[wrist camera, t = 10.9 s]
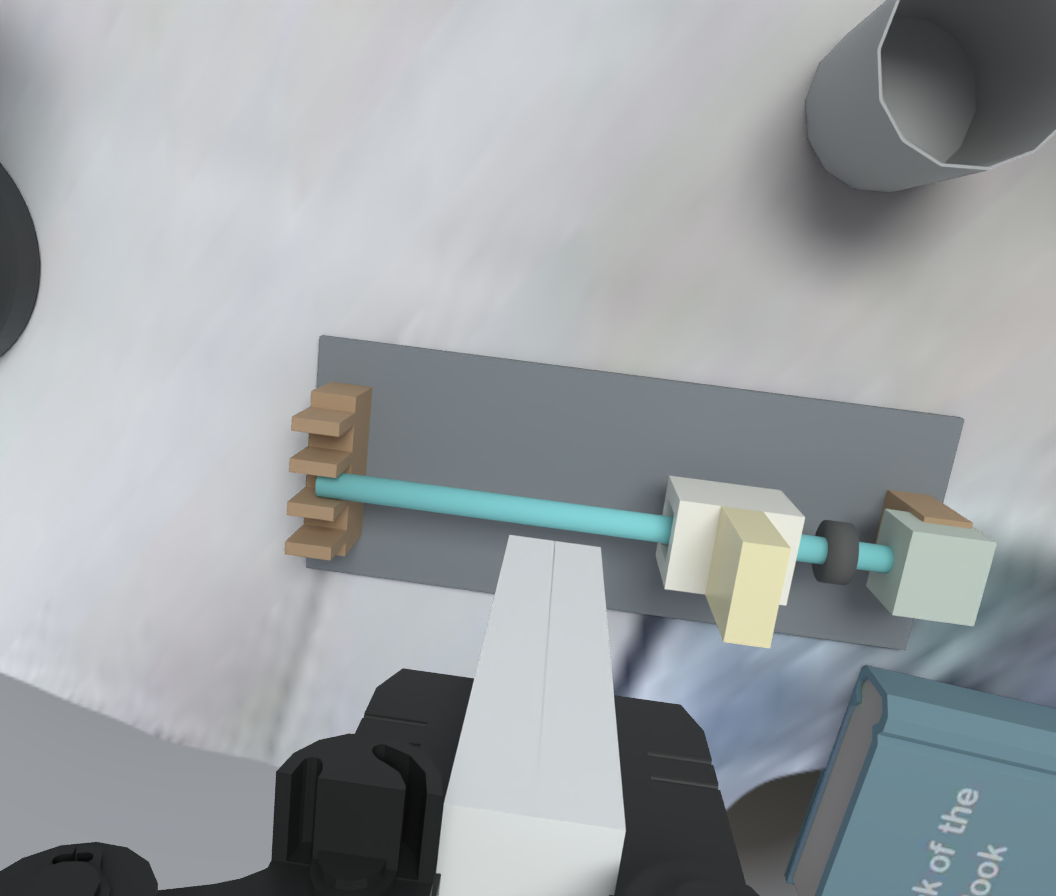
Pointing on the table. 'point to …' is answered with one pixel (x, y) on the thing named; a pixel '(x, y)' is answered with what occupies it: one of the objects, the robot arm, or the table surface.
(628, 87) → the table surface
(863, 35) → the cup
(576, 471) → the cord rig
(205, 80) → the table surface
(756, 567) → the sliding rod collar
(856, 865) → the book
